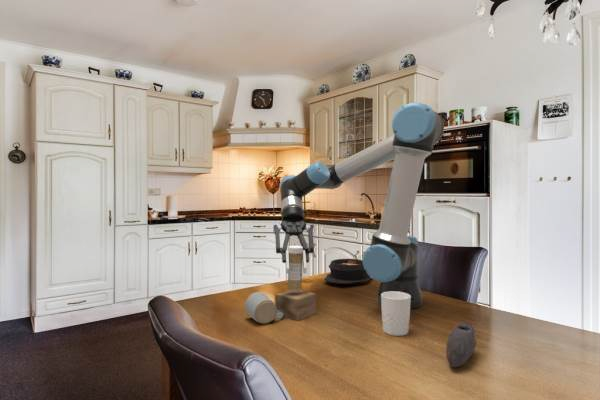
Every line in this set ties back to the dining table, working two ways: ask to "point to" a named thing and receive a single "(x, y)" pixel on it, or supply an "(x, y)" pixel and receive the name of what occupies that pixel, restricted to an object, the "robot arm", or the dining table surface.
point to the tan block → (296, 304)
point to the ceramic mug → (262, 308)
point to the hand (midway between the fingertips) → (296, 270)
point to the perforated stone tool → (460, 344)
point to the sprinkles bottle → (295, 268)
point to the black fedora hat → (347, 272)
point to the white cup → (395, 312)
